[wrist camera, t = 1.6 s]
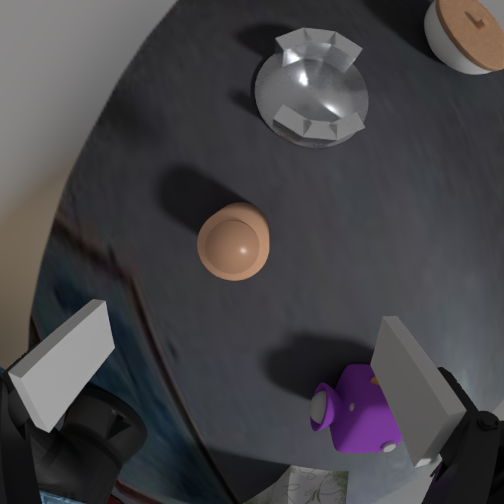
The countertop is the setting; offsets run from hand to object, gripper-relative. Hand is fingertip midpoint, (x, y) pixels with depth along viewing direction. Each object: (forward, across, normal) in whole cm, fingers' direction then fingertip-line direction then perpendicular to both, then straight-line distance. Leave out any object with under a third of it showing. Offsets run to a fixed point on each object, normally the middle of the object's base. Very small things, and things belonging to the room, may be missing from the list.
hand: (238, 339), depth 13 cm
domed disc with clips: (+19, +5, +16) cm, 26 cm away
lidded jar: (+20, +23, +27) cm, 41 cm away
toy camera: (+19, +14, -20) cm, 31 cm away
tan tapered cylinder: (+19, -2, +1) cm, 19 cm away
